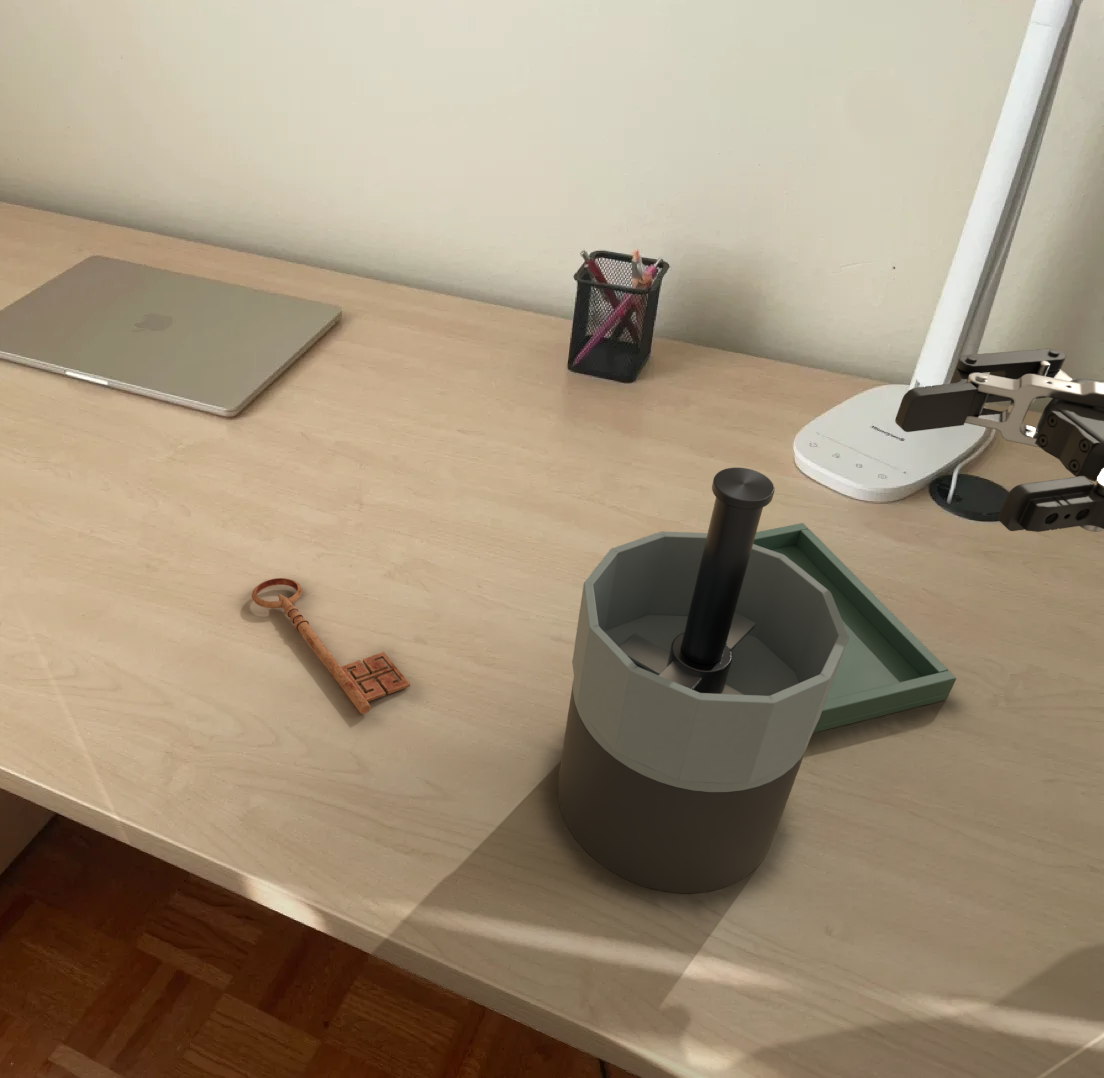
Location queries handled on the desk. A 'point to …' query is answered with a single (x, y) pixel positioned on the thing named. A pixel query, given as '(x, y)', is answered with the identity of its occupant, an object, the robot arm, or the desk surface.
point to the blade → (714, 590)
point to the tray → (863, 640)
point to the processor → (691, 717)
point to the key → (329, 661)
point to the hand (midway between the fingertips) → (952, 457)
